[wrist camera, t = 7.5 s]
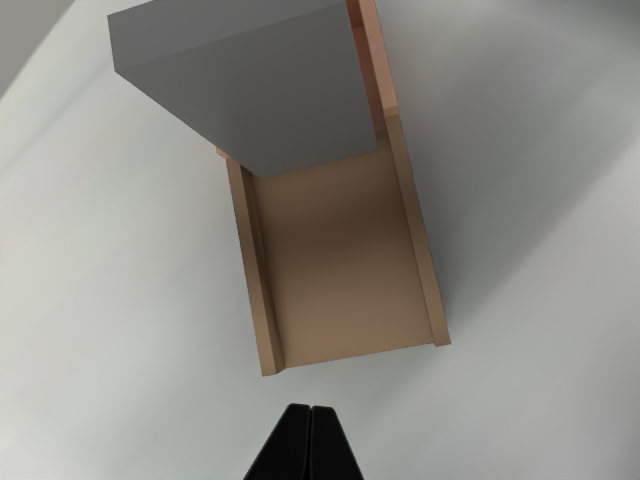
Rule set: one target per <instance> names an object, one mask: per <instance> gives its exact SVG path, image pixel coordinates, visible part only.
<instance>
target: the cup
mask: <svg viewBox="0 0 640 480" xmlns="http://www.w3.org/2000/svg"><path fill="white" fill-rule="evenodd" d="M345 2H346V6H347V11H348V15H349V19H350V24H351V28H352V33H353V37H354V42H355V46H356V51H357V55H358V60H359V64H360V69H361V73H362V78H363V82H364V87H365V91H366V95H367V100H368V104H369V109H370V113H371V118H372V122H373V127H374V131H375V132H378V131H382V130H386V124H385V118H386V117H390V116H394V115H398V114H399V109H398V102H397V98H396V93H395V89H394V85H393V80H392V76H391V71H390V67H389V63H388V58H387V54H386V50H385V45H384V41H383V36H382V32H381V28H380V23H379V19H378V15H377V10H376V6H375V2H374V0H345ZM216 150H217V153H218V154H219V155H221V156H222V157H224V158H225V159H227V158H231V157H230V156H229V155H227V154H226V153H225V152H223V151H222V150H220V149H219V148H218V147H216Z"/></svg>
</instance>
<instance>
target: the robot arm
mask: <svg viewBox="0 0 640 480" xmlns="http://www.w3.org/2000/svg"><path fill="white" fill-rule="evenodd" d="M243 480H364V478H363V475H362V473H361V471H360V468H359V466H358V464H357V461H356V459H355V457H354V454H353V452H352V450H351V447H350V445H349V443H348V440H347V438H346V435H345V433H344V431H343V428H342V426H341V424H340V421H339V419H338V417H337V414H336V412H335V410H334V409H333V408H331V407H324V406H313V407H312V408H310V406H309V405H304V404H294V403H292V404H289V405H288V406H287V408H286V409H285V411H284V413H283V414H282V416H281V418H280V419H279V421H278V423H277V424H276V426H275V428H274V429H273V431H272V432H271V434H270V436H269V437H268V439H267V441H266V442H265V444H264V446H263V447H262V449H261V451H260V452H259V454H258V456H257V457H256V459H255V460H254V462H253V464H252V465H251V467H250V469H249V470H248V472H247V474H246V475H245V477H244V479H243Z"/></svg>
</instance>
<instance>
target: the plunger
mask: <svg viewBox="0 0 640 480" xmlns="http://www.w3.org/2000/svg"><path fill="white" fill-rule="evenodd" d="M107 18H108V25H109V32H110V39H111V47H112V54H113V61H114V68H115V72H116V73H118V74H119V75H120V76H122V77H123V78H125V79H126V80H127V81H129V82H130V83H131V84H133V85H134V86H135V87H137V88H138V89H139V90H141V91H142V92H143V93H145V94H146V95H147V96H149V97H150V98H152V99H153V100H154V101H156V102H157V103H158V104H160V105H161V106H162V107H164V108H165V109H166V110H168V111H169V112H170V113H172V114H173V115H175V116H176V117H177V118H179V119H180V120H181V121H183V122H184V123H185V124H187V125H188V126H189V127H191V128H192V129H193V130H195V131H196V132H197V133H199V134H200V135H202V136H203V137H204V138H206V139H207V140H208V141H210V142H211V143H212V144H214V145H215V146H216V147H218V148H219V149H220V150H222V151H223V152H225V153H226V154H227V155H229V156H230V157H231V158H233V159H234V160H235V161H237V162H238V163H239V164H241V165H242V166H243V167H245V168H246V169H247V170H249V171H250V172H252V173H253V174H254V175H256V176H257V177H258V178H260V179H263V178H267V177H271V176H275V175H279V174H283V173H287V172H291V171H295V170H299V169H303V168H307V167H311V166H315V165H319V164H323V163H327V162H331V161H335V160H340V159H344V158H348V157H352V156H356V155H360V154H364V153H368V152H372V151H376V150H378V145H377V141H376V136H375V131H374V127H373V122H372V118H371V113H370V109H369V104H368V100H367V95H366V91H365V87H364V82H363V78H362V73H361V69H360V64H359V60H358V55H357V51H356V46H355V42H354V37H353V33H352V28H351V24H350V19H349V15H348V11H347V6H346V2H345V0H153V1H150V2H147V3H144V4H141V5H138V6H135V7H132V8H129V9H126V10H123V11H120V12H117V13H114V14H111V15H107Z"/></svg>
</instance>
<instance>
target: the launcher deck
mask: <svg viewBox="0 0 640 480" xmlns="http://www.w3.org/2000/svg"><path fill="white" fill-rule="evenodd" d="M385 124H386V130H382V131H378V132H375V136H376V141H377V145H378V150H376V151H372V152H368V153H364V154H360V155H356V156H352V157H348V158H344V159H340V160H335V161H331V162H327V163H323V164H319V165H315V166H311V167H307V168H303V169H299V170H295V171H291V172H287V173H283V174H279V175H275V176H271V177H267V178H263V179H260V178H258V177H257V176H256V175H254V174H253V173H252V172H250V171H249V170H247V169H246V168H245V167H243V166H242V165H241V164H239V163H238V162H237V161H235V160H234V159H233V158H227V159H226V164H227V170H228V176H229V182H230V187H231V193H232V199H233V205H234V211H235V217H236V223H237V229H238V235H239V240H240V246H241V252H242V258H243V264H244V270H245V276H246V282H247V288H248V293H249V299H250V305H251V311H252V317H253V323H254V329H255V335H256V341H257V346H258V352H259V358H260V364H261V370H262V376H263V377H264V376H269V375H275V374H278V373H279V372H281V371H282V370H284V369H286V368H291V367H297V366H303V365H309V364H314V363H320V362H326V361H332V360H337V359H343V358H349V357H354V356H360V355H366V354H372V353H377V352H383V351H389V350H395V349H400V348H406V347H412V346H417V345H423V344H429V343H434V344H435V346H436V347H437V346H443V345H449V344H451V341H450V337H449V332H448V328H447V323H446V319H445V315H444V310H443V306H442V302H441V297H440V293H439V288H438V284H437V280H436V275H435V271H434V266H433V262H432V258H431V253H430V249H429V245H428V240H427V236H426V231H425V227H424V223H423V218H422V214H421V210H420V205H419V201H418V196H417V192H416V188H415V183H414V179H413V174H412V170H411V166H410V161H409V157H408V153H407V148H406V144H405V139H404V135H403V131H402V126H401V122H400V117H399V114H398V115H394V116H390V117H386V118H385Z"/></svg>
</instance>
